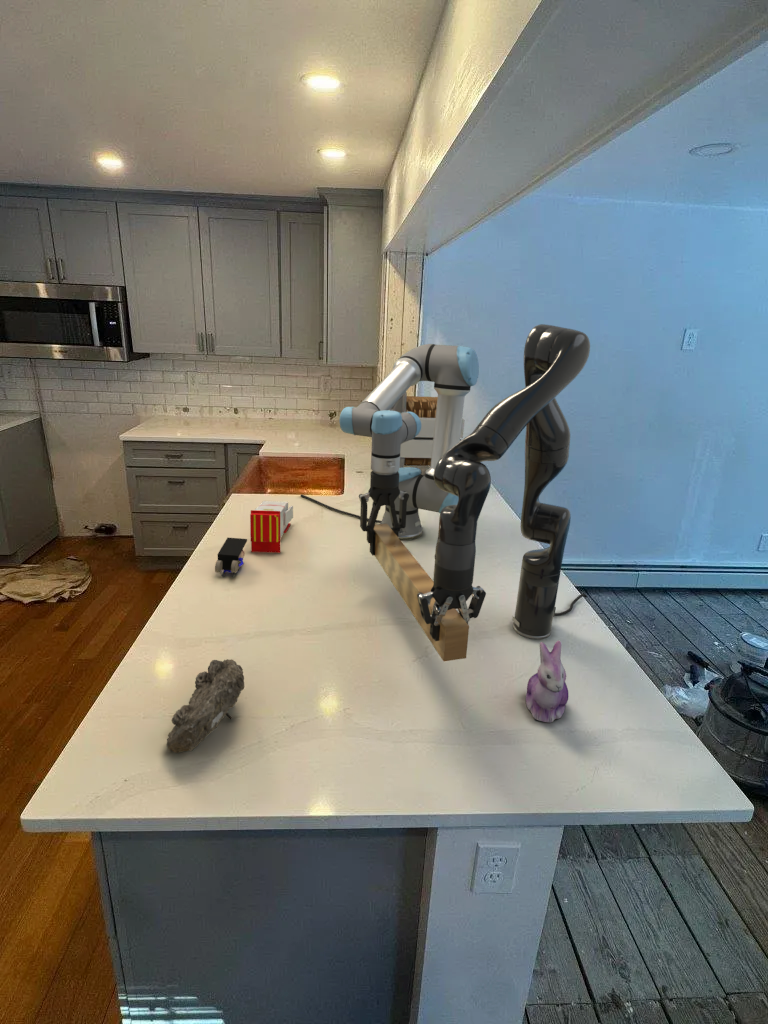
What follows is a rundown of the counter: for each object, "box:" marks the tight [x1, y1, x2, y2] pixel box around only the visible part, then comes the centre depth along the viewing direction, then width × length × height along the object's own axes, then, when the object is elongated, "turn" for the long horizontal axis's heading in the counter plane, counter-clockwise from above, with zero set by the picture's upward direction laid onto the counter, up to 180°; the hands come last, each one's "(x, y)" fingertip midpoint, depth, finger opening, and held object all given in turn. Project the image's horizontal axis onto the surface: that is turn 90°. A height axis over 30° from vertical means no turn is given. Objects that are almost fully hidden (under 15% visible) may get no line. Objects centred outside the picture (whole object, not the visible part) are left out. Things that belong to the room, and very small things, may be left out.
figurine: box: [525, 640, 570, 723], centre depth 112 cm, size 9×10×15 cm
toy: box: [249, 500, 294, 554], centre depth 191 cm, size 12×13×30 cm
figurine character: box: [214, 537, 248, 578], centre depth 166 cm, size 7×8×15 cm
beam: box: [373, 523, 470, 663], centre depth 134 cm, size 55×5×7 cm, turn 17°
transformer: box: [390, 391, 465, 468], centre depth 268 cm, size 34×33×41 cm
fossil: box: [166, 658, 245, 754], centre depth 106 cm, size 22×10×15 cm
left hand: (381, 552), depth 156 cm, fingers closed on beam, 5 cm apart
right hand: (448, 636), depth 113 cm, fingers closed on beam, 4 cm apart
